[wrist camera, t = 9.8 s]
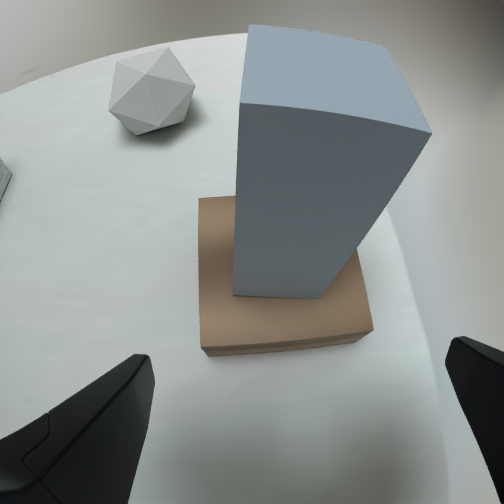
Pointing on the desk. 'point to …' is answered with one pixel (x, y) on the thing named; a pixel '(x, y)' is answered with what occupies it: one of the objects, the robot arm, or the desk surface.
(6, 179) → the light bulb box
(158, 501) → the desk surface
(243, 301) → the walnut base block
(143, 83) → the die
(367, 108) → the slate block
